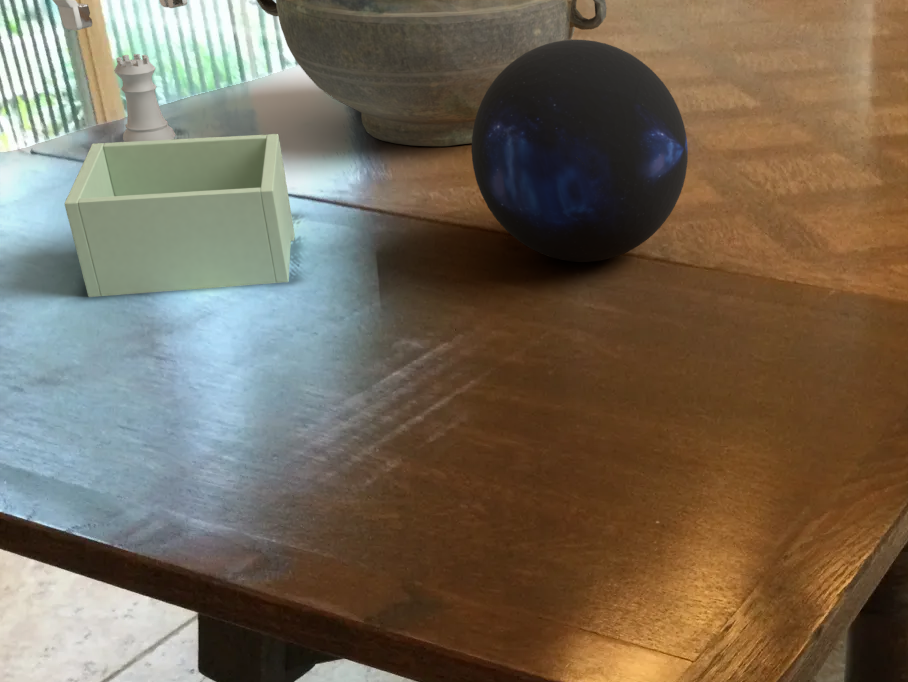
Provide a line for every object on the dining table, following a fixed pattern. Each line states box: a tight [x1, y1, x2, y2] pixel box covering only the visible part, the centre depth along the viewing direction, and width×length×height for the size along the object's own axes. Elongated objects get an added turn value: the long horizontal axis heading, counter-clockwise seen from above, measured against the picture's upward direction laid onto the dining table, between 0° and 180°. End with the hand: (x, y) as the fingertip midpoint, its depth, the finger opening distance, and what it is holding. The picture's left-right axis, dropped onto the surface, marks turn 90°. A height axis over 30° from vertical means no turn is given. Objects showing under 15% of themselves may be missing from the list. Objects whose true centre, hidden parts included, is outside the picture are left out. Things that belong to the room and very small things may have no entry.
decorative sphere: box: [471, 39, 689, 263], centre depth 95 cm, size 15×15×15 cm
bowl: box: [256, 0, 608, 147], centre depth 121 cm, size 32×26×15 cm
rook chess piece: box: [113, 53, 177, 142], centre depth 115 cm, size 4×4×8 cm
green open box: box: [64, 133, 296, 298], centre depth 93 cm, size 13×13×8 cm
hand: (128, 16), depth 111 cm, fingers open, 8 cm apart
